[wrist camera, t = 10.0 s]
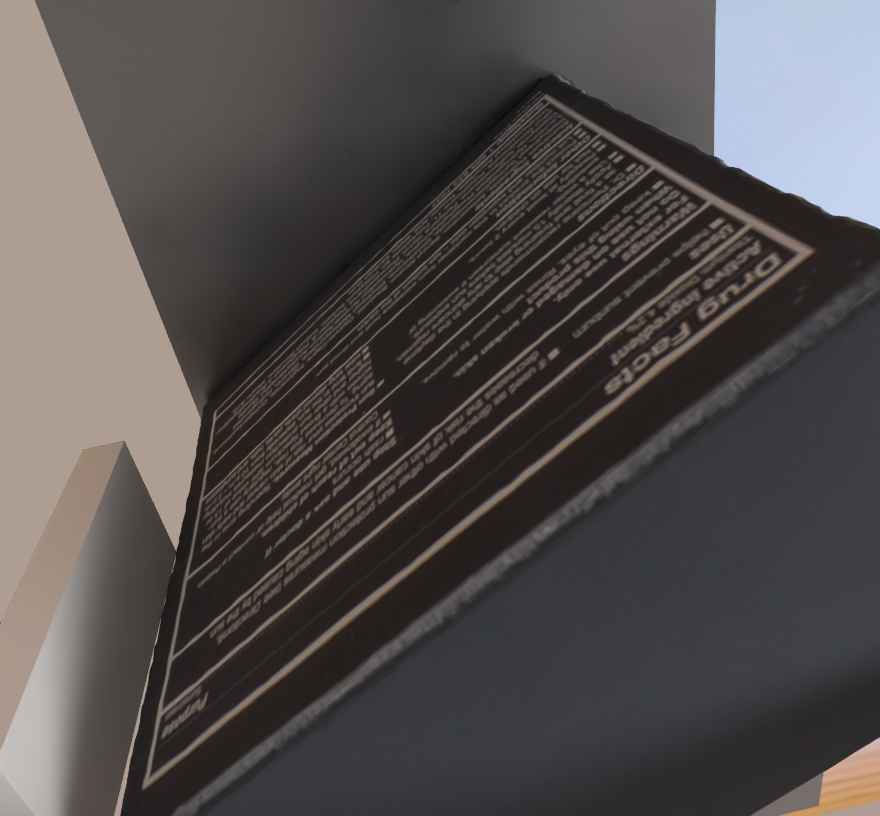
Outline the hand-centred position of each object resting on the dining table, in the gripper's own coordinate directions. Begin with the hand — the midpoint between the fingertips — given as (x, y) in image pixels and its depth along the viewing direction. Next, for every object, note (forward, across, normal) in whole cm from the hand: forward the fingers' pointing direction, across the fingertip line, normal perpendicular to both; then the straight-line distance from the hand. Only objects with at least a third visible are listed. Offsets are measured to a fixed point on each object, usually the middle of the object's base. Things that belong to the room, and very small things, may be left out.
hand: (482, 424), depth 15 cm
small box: (+3, 0, 0) cm, 3 cm away
